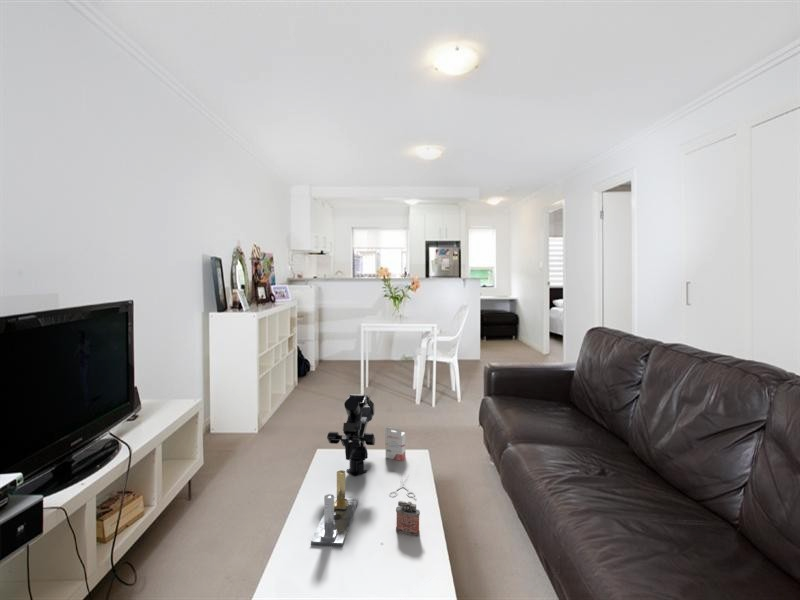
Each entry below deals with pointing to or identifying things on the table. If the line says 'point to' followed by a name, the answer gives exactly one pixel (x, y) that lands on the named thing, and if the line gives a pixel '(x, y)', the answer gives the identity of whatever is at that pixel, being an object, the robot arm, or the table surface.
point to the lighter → (407, 519)
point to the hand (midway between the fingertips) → (348, 459)
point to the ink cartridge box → (395, 444)
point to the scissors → (404, 488)
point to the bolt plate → (334, 523)
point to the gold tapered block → (340, 491)
